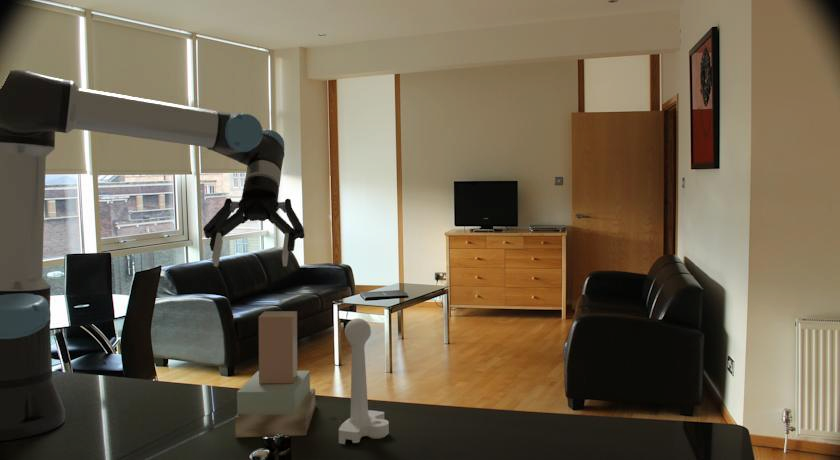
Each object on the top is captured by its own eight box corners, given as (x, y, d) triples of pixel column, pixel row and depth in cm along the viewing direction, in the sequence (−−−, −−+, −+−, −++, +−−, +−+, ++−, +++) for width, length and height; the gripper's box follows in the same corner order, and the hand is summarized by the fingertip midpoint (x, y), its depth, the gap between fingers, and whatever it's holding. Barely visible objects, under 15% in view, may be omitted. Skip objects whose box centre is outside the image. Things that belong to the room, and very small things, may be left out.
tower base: (235, 440, 120) (235, 417, 120) (253, 410, 136) (252, 390, 136) (306, 438, 121) (305, 415, 120) (315, 408, 137) (315, 388, 136)
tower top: (237, 414, 121) (236, 392, 121) (258, 391, 135) (257, 370, 135) (295, 414, 121) (294, 391, 121) (310, 391, 135) (309, 370, 134)
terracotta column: (259, 383, 125) (258, 316, 125) (265, 375, 131) (264, 311, 131) (292, 383, 125) (292, 316, 125) (297, 374, 131) (297, 311, 131)
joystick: (362, 421, 127) (360, 312, 126) (400, 426, 124) (399, 314, 123) (332, 442, 117) (330, 324, 116) (373, 448, 114) (371, 326, 113)
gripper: (320, 198, 156) (314, 273, 142) (206, 198, 155) (189, 273, 141) (318, 174, 151) (311, 249, 137) (200, 173, 149) (181, 249, 135)
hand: (249, 262), depth 139 cm, fingers open, 13 cm apart
